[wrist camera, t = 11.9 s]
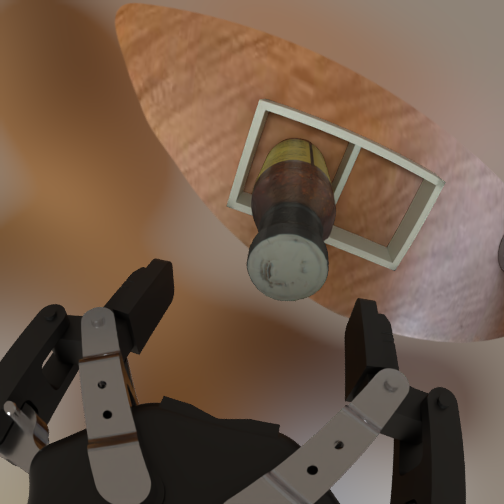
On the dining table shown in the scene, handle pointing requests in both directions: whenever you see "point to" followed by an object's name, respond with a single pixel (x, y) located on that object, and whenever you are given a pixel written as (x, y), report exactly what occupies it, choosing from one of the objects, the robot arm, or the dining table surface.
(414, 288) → the dining table surface
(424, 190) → the corral
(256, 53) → the dining table surface
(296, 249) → the sauce bottle
